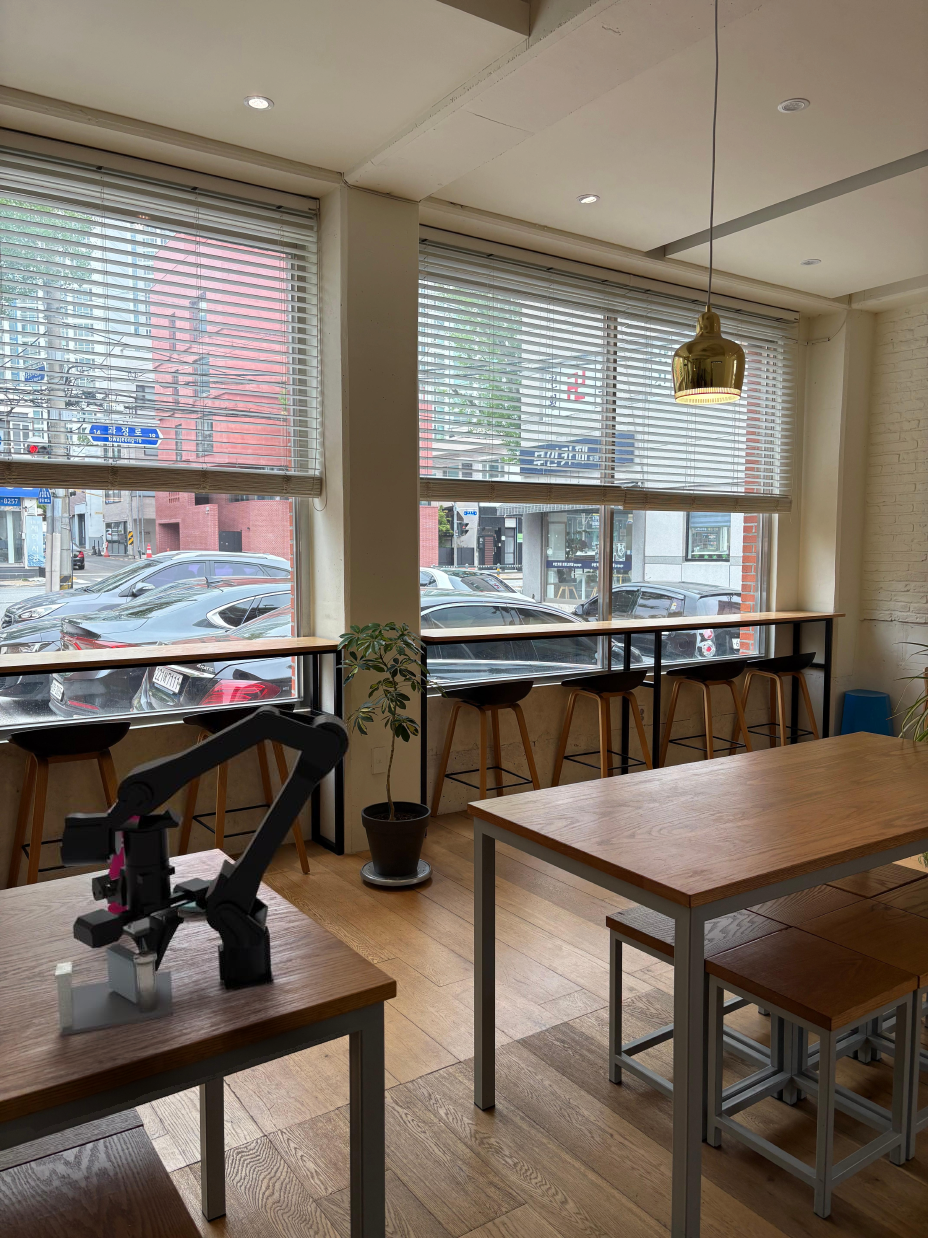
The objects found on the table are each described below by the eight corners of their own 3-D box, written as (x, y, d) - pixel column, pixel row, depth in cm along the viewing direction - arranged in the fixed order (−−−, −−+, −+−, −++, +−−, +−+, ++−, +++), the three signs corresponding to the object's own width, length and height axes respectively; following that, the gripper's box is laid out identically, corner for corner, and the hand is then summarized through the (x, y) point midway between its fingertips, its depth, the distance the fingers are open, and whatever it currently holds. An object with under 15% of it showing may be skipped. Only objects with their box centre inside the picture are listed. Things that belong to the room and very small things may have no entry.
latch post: (76, 1019, 114) (73, 961, 113) (74, 1032, 111) (70, 972, 110) (60, 1022, 113) (57, 964, 112) (58, 1035, 110) (54, 975, 109)
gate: (147, 998, 117) (145, 957, 116) (134, 1004, 115) (132, 962, 115) (120, 983, 121) (118, 943, 121) (107, 988, 120) (105, 948, 119)
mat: (170, 974, 125) (170, 971, 125) (172, 1015, 114) (172, 1011, 114) (69, 991, 121) (69, 988, 121) (61, 1036, 110) (61, 1032, 110)
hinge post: (159, 1005, 117) (156, 949, 116) (159, 1015, 114) (156, 958, 113) (136, 1009, 116) (133, 952, 115) (136, 1020, 113) (133, 961, 113)
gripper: (176, 831, 133) (180, 933, 134) (50, 866, 119) (57, 980, 120) (219, 846, 126) (224, 954, 127) (91, 885, 112) (97, 1006, 113)
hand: (152, 972), depth 122 cm, fingers closed
